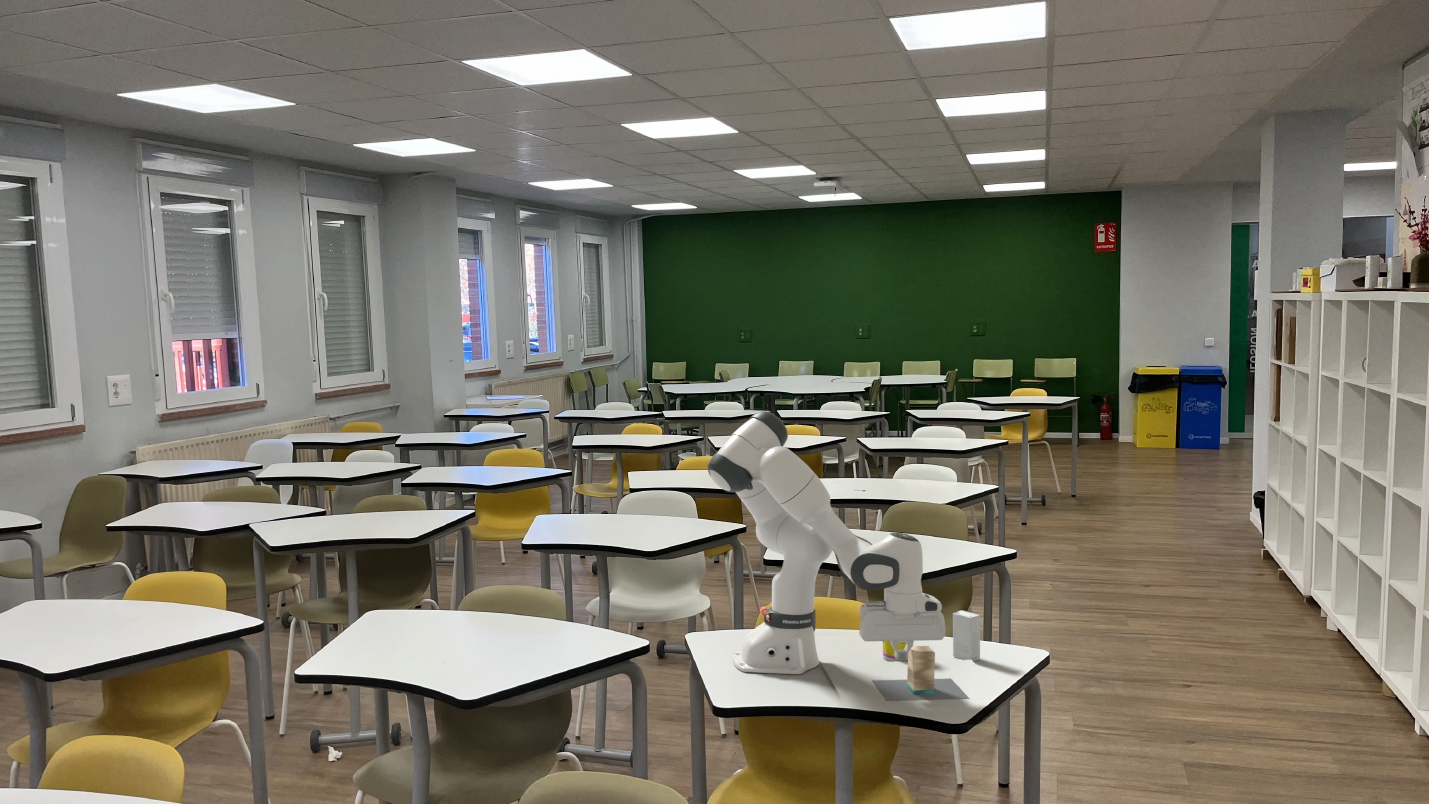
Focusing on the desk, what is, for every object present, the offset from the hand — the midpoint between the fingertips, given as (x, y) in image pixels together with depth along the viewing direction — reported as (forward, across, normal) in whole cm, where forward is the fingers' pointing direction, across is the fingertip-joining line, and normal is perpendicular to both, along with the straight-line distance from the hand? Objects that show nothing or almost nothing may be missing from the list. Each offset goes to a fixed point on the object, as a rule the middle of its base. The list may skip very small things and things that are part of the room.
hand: (901, 657), depth 231 cm
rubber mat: (+9, +5, +1) cm, 10 cm away
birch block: (+8, +5, 0) cm, 9 cm away
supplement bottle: (+9, +6, +25) cm, 28 cm away
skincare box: (+9, +25, +24) cm, 36 cm away
